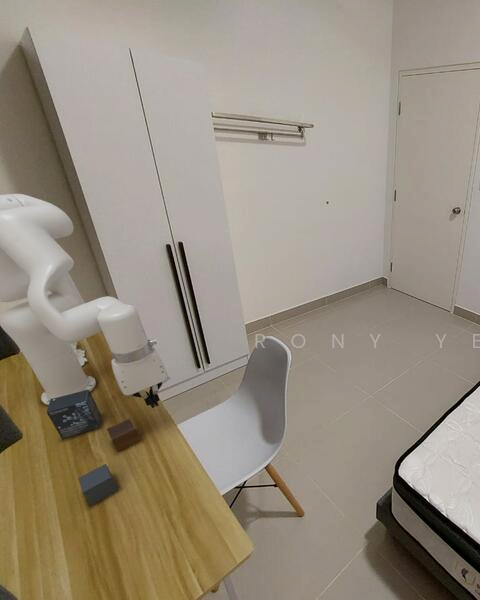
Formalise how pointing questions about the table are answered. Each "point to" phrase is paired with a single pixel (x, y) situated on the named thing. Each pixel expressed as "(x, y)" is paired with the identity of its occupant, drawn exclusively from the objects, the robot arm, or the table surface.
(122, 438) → the walnut block
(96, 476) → the slate block
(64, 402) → the box
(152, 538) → the table surface
